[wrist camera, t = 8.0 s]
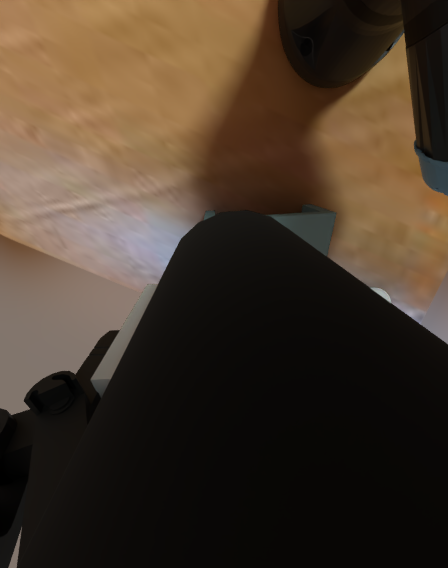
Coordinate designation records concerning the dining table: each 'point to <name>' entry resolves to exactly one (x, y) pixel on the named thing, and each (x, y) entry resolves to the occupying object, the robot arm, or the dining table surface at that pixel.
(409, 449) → the coffee jar
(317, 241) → the green riser stand
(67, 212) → the dining table surface
